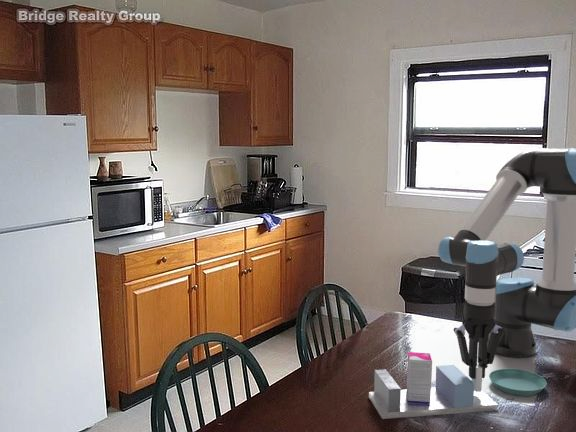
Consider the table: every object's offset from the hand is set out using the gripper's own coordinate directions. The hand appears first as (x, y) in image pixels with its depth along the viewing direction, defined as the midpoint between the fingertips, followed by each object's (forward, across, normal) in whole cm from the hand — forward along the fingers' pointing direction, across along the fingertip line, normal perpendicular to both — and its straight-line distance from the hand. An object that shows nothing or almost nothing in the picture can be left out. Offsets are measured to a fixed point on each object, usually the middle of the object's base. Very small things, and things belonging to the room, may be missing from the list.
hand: (476, 389), depth 151 cm
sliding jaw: (+1, +6, 0) cm, 6 cm away
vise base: (+3, +12, 0) cm, 12 cm away
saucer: (+3, -15, -6) cm, 17 cm away
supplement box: (+2, +16, 0) cm, 16 cm away
